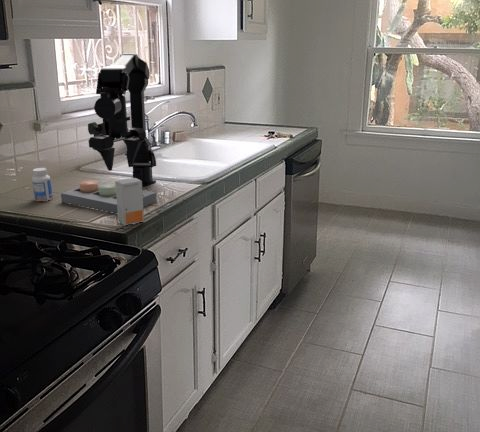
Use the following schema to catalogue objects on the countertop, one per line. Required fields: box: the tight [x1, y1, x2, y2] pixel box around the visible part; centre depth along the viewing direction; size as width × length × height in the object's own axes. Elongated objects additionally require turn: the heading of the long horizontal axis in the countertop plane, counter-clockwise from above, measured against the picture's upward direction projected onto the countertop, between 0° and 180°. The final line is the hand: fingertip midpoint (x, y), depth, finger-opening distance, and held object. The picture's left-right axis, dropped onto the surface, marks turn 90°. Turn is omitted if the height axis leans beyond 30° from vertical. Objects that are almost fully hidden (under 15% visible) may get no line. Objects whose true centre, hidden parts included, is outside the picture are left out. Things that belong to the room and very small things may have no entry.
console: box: [60, 181, 157, 214], centre depth 164 cm, size 15×25×3 cm, turn 59°
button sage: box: [98, 183, 116, 197], centre depth 163 cm, size 6×6×3 cm
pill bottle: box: [31, 167, 54, 202], centre depth 166 cm, size 6×5×10 cm
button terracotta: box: [79, 180, 99, 194], centre depth 167 cm, size 6×6×3 cm
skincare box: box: [114, 177, 145, 226], centre depth 145 cm, size 6×4×12 cm
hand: (120, 166), depth 156 cm, fingers open, 9 cm apart
